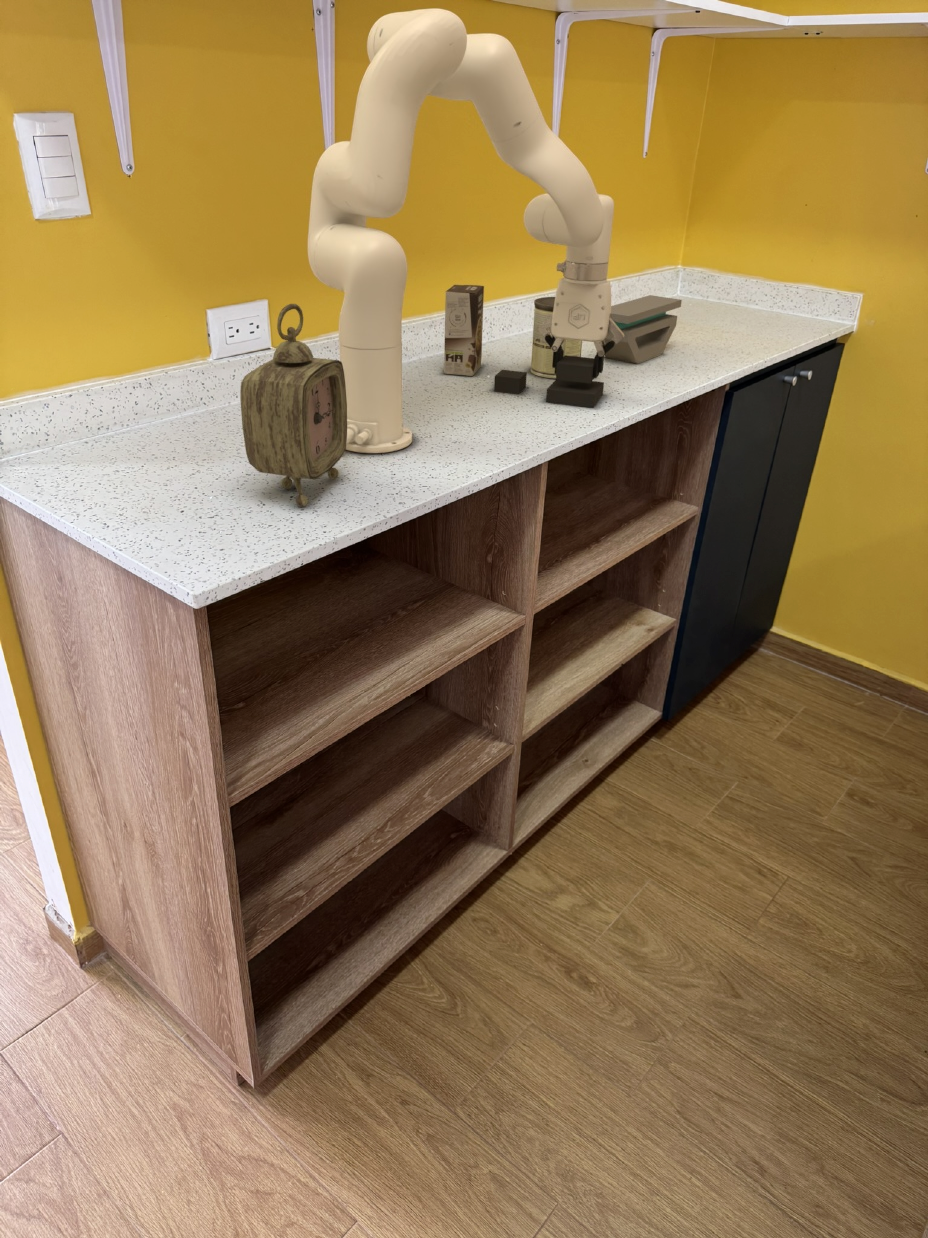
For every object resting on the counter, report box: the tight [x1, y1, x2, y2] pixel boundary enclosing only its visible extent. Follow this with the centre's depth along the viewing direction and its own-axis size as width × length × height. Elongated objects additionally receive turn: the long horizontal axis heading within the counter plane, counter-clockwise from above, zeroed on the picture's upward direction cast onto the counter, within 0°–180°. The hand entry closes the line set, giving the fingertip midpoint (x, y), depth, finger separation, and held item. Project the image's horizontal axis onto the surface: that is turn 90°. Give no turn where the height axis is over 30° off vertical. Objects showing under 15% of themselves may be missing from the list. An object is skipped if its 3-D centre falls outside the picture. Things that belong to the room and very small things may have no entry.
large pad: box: [545, 379, 605, 409], centre depth 165 cm, size 9×9×2 cm
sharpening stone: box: [604, 294, 683, 365], centre depth 193 cm, size 25×8×11 cm, turn 143°
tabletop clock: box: [239, 303, 347, 507], centre depth 117 cm, size 14×9×25 cm, turn 164°
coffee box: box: [443, 284, 485, 377], centre depth 178 cm, size 9×6×16 cm
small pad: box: [493, 369, 528, 395], centre depth 170 cm, size 5×5×3 cm
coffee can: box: [530, 296, 583, 379], centre depth 179 cm, size 10×10×14 cm
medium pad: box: [555, 355, 595, 383], centre depth 163 cm, size 6×6×3 cm
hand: (577, 373), depth 164 cm, fingers closed on medium pad, 6 cm apart
